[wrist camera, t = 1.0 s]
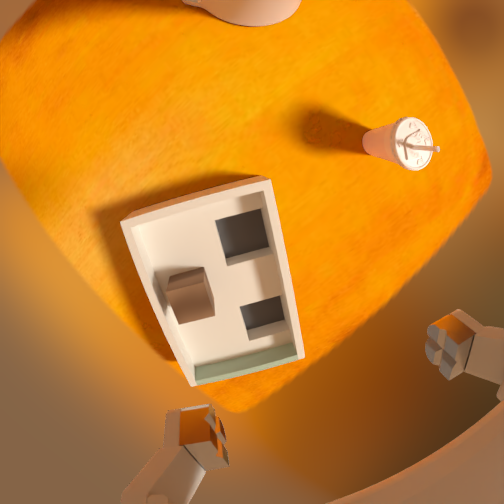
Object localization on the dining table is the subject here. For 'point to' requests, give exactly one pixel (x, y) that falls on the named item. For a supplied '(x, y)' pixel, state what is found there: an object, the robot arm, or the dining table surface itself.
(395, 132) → the smoothie
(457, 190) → the dining table surface
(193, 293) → the walnut block
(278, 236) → the box
